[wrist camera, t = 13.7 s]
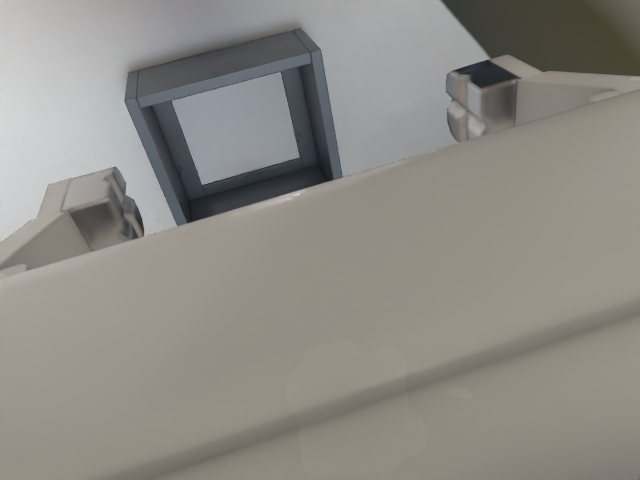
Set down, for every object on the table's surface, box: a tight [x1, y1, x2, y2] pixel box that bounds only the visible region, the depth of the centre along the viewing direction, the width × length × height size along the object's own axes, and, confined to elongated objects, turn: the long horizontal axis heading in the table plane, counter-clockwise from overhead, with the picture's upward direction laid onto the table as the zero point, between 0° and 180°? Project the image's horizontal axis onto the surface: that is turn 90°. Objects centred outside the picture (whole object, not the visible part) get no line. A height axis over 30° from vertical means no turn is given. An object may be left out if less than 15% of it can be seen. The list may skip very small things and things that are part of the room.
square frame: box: [124, 29, 343, 226], centre depth 40 cm, size 14×14×11 cm
